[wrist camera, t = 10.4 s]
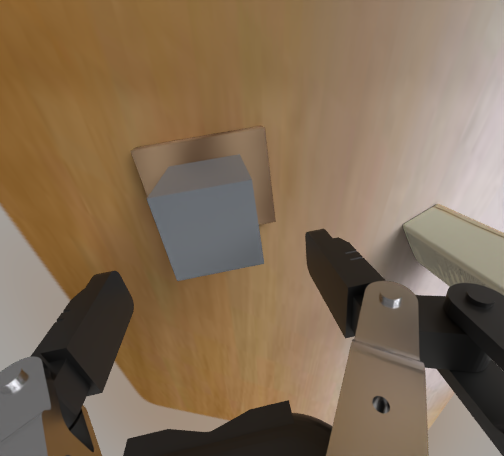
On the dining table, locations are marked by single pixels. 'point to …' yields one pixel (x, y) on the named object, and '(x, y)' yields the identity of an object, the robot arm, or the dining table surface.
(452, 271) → the skincare box
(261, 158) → the wooden stand with post
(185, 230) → the blue-grey rectangular block
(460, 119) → the dining table surface
